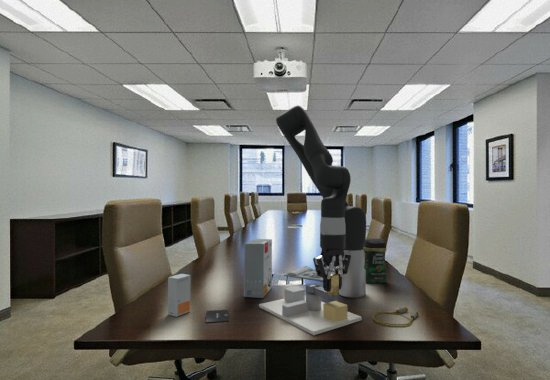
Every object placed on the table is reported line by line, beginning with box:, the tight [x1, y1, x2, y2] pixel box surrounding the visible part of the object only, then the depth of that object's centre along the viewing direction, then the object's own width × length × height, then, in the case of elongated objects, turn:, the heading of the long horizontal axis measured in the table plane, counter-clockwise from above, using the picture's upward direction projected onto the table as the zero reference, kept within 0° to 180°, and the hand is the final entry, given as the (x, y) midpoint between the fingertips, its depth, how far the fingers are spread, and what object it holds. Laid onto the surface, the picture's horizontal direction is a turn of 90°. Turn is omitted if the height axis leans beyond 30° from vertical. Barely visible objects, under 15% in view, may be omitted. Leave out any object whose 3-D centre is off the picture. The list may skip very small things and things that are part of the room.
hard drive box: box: [243, 238, 273, 299], centre depth 132 cm, size 16×8×20 cm, turn 168°
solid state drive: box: [205, 309, 230, 324], centre depth 106 cm, size 7×10×1 cm
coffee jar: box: [364, 238, 388, 284], centre depth 147 cm, size 10×8×19 cm
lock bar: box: [305, 272, 340, 302], centre depth 106 cm, size 14×5×8 cm, turn 29°
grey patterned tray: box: [284, 266, 334, 283], centre depth 160 cm, size 23×3×20 cm
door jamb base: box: [258, 286, 363, 336], centre depth 108 cm, size 19×28×6 cm
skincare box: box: [167, 273, 192, 317], centre depth 109 cm, size 6×4×12 cm
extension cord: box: [372, 306, 419, 328], centre depth 103 cm, size 12×16×2 cm
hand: (332, 289), depth 101 cm, fingers closed on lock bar, 3 cm apart
